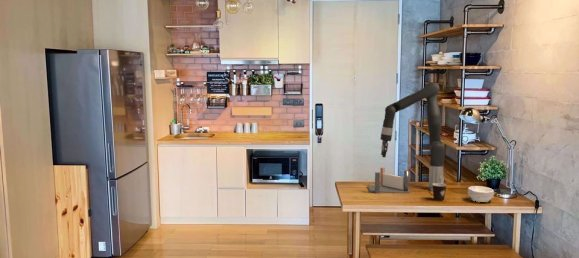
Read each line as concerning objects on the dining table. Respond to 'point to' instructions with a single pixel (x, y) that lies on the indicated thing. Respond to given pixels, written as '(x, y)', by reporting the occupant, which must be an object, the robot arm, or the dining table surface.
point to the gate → (391, 180)
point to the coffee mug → (438, 191)
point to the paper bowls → (480, 193)
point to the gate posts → (377, 181)
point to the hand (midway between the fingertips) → (383, 156)
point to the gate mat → (386, 189)
